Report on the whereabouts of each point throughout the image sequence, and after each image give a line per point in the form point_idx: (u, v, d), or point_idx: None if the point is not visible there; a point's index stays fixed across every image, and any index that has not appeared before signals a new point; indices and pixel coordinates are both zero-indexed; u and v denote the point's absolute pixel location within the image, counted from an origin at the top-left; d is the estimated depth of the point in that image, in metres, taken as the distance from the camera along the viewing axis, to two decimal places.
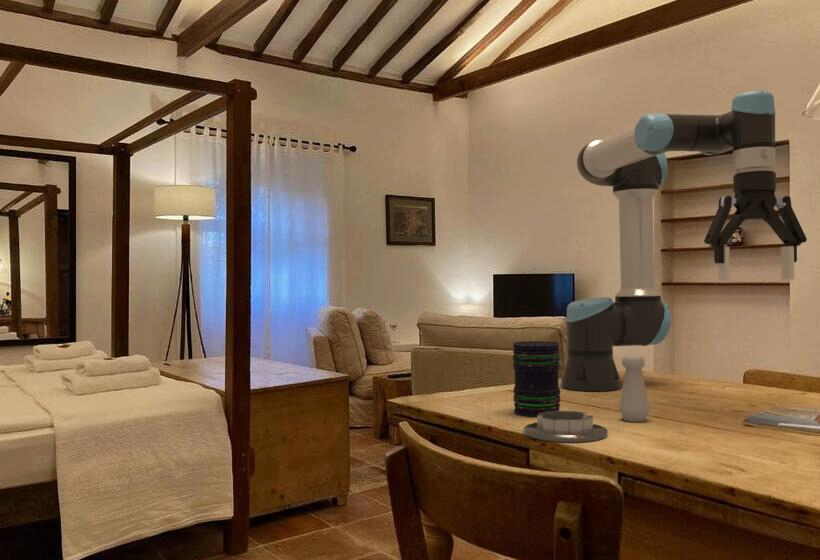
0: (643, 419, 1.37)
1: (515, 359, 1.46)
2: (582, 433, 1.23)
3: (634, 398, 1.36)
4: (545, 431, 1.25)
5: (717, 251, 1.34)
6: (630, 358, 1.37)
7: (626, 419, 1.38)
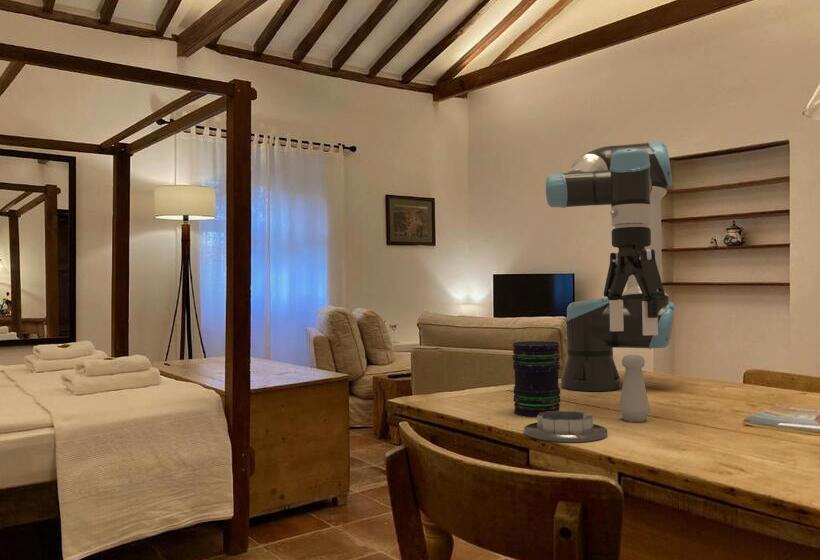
0: (643, 419, 1.37)
1: (515, 359, 1.46)
2: (582, 433, 1.23)
3: (634, 398, 1.36)
4: (545, 431, 1.25)
5: None
6: (630, 358, 1.37)
7: (626, 419, 1.38)
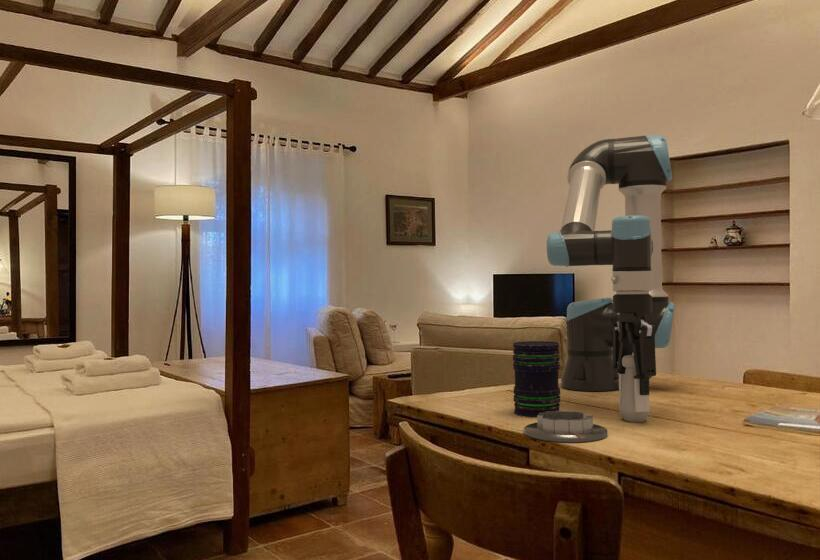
0: (643, 419, 1.37)
1: (515, 359, 1.46)
2: (582, 433, 1.23)
3: (634, 398, 1.36)
4: (545, 431, 1.25)
5: None
6: (630, 358, 1.37)
7: (626, 419, 1.38)
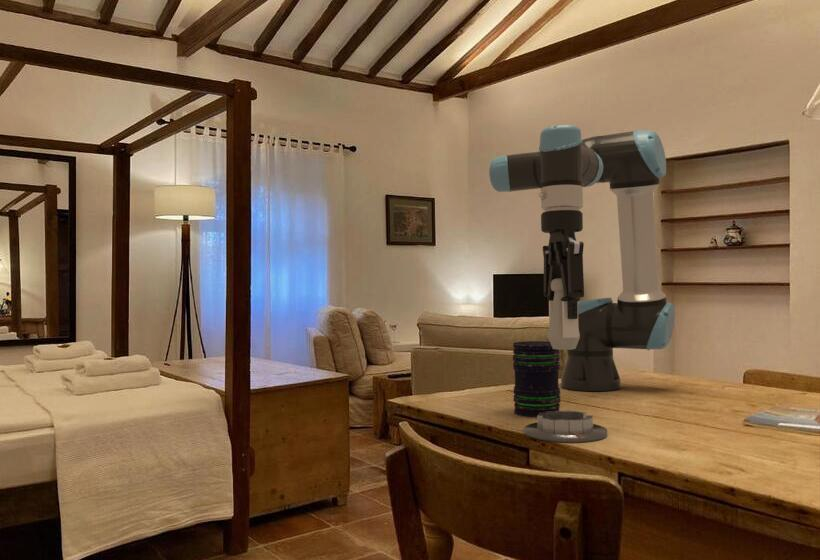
0: (572, 347, 1.26)
1: (515, 359, 1.46)
2: (582, 433, 1.23)
3: (562, 323, 1.25)
4: (545, 431, 1.25)
5: None
6: (558, 280, 1.26)
7: (554, 347, 1.27)
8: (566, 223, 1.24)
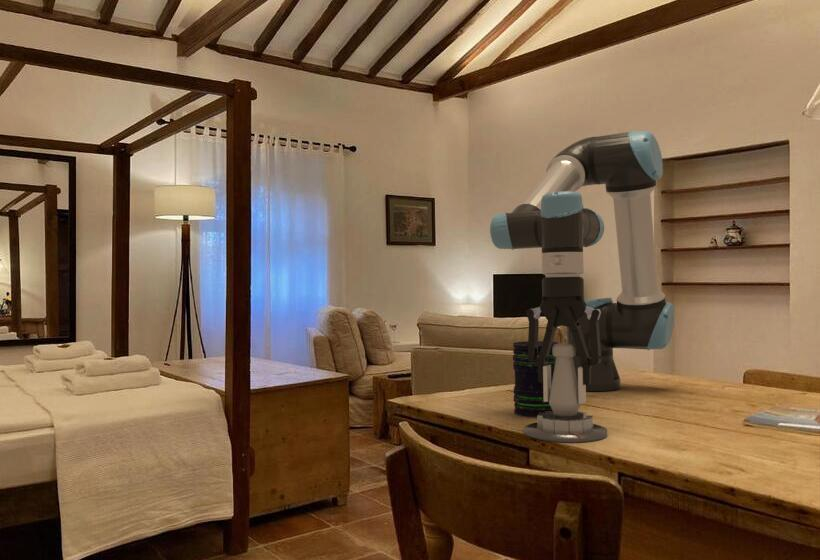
0: None
1: (515, 359, 1.46)
2: (582, 433, 1.23)
3: (575, 389, 1.26)
4: (545, 431, 1.25)
5: None
6: (569, 347, 1.26)
7: (565, 414, 1.26)
8: (582, 290, 1.25)
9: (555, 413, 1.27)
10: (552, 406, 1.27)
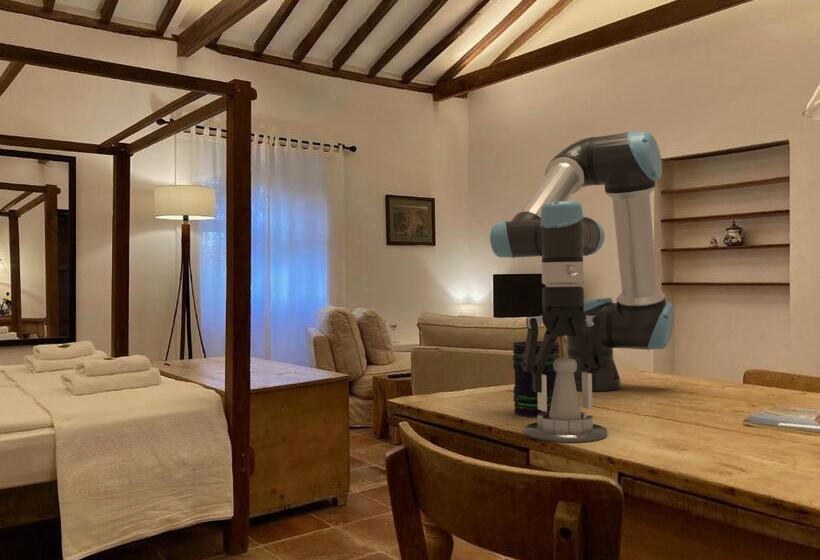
0: None
1: (515, 359, 1.46)
2: (582, 433, 1.23)
3: (578, 403, 1.27)
4: (545, 431, 1.25)
5: (534, 379, 1.26)
6: (575, 361, 1.26)
7: None
8: None
9: None
10: None
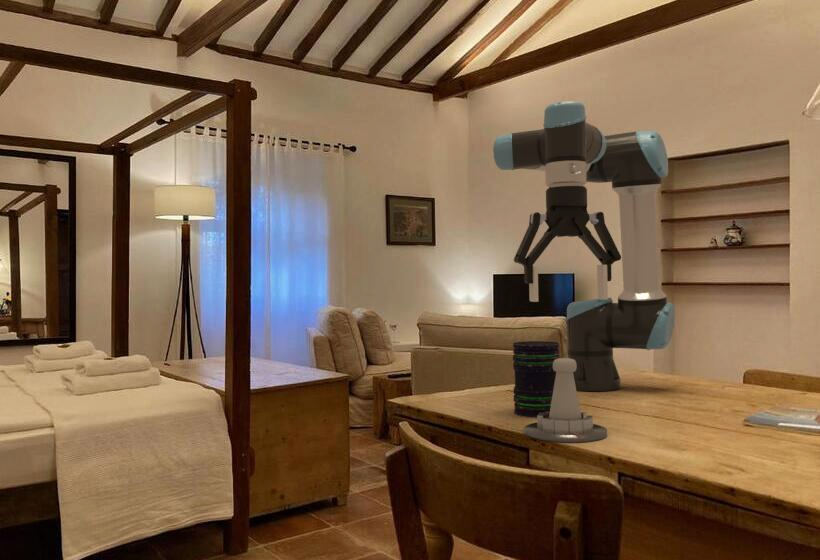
0: None
1: (515, 359, 1.46)
2: (582, 433, 1.23)
3: (578, 403, 1.27)
4: (545, 431, 1.25)
5: (526, 271, 1.27)
6: (574, 361, 1.27)
7: None
8: None
9: None
10: None
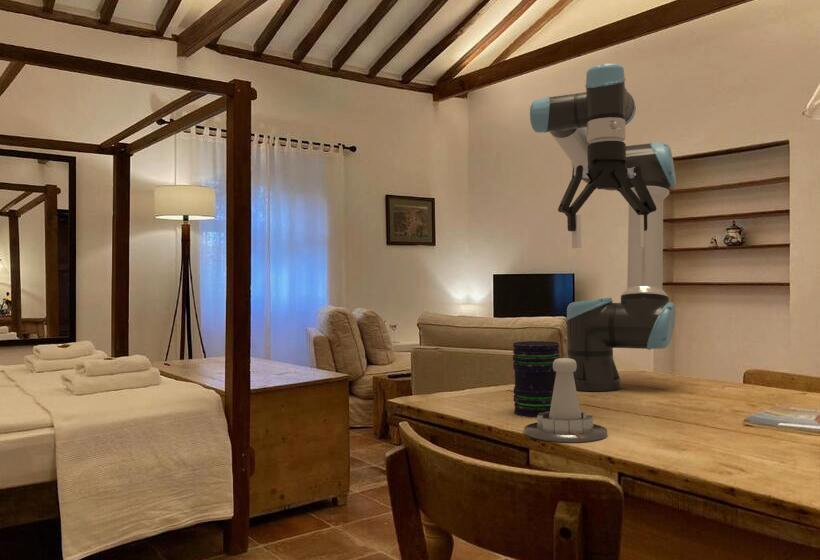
0: None
1: (515, 359, 1.46)
2: (582, 433, 1.23)
3: (578, 403, 1.27)
4: (545, 431, 1.25)
5: (569, 219, 1.38)
6: (574, 361, 1.27)
7: None
8: None
9: None
10: None
